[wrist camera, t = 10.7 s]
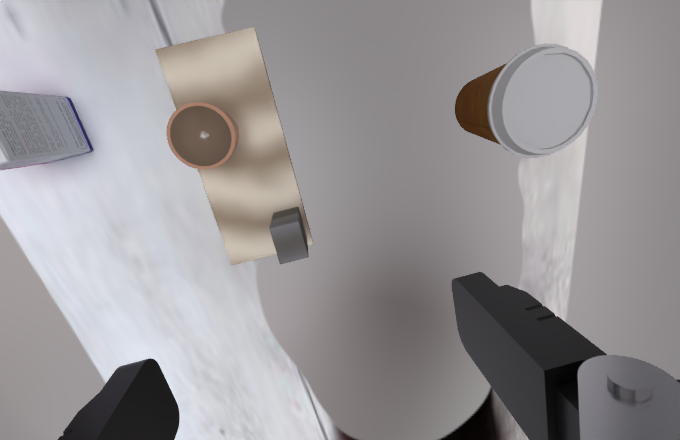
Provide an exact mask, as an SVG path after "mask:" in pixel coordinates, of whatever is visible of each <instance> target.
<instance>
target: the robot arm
mask: <svg viewBox="0 0 680 440" xmlns="http://www.w3.org/2000/svg"><path fill="white" fill-rule="evenodd" d="M452 292H453V299H454V306H455V313H456V320H457V326H458V331H459V335H460V338H461V341H462V343H463V345H464V347H465V349H466V351H467V352H468V354H469V355H470V357H471V358H472V360H473V361H474V362H475V364H476V365H477V367H478V368H479V369H480V371H481V372H482V374H483V375H484V377H485V378H486V379H487V381H488V382H489V384H490V385H491V386H492V388H493V389H494V391H495V392H496V393H497V395H498V396H499V398H500V399H501V400H502V402H503V403H504V405H505V406H506V407H507V409H508V410H509V412H510V413H511V415H512V416H513V417H514V419H515V420H516V422H517V423H518V424H519V426H520V427H521V429H522V430H523V431H524V433H525V434H526V436H527V437H528V438H529V440H680V380H676V379H675V378H673V377H672V376H671V375H670V374H668V373H667V372H665V371H664V370H662V369H660V368H658V367H656V366H654V365H652V364H650V363H647V362H645V361H642V360H638V359H635V358H631V357H626V356H618V355H607V354H605V353H604V352H603V351H602V350H600V349H599V348H598V347H596V346H595V345H594V344H593V343H591V342H590V341H589V340H588V339H586V338H585V337H584V336H582V335H581V334H580V333H579V332H577V331H576V330H575V329H573V328H572V327H571V326H570V325H568V324H567V323H566V322H564V321H563V320H562V319H561V318H559V317H558V316H557V317H556V316H555V314H554V313H553V312H551V311H550V310H549V309H548V308H546V307H545V306H544V307H543V306H542V304H541V303H540V302H539V301H537V300H536V299H535V298H533V297H532V296H531V295H530V294H528V293H527V292H525V291H522V290H519V289H517V288H514V287H511V286H509V285H504V286H500V287H499V286H498V285H496V284H495V283H494V282H493V281H492V280H491V279H489V278H488V277H487V276H486V275H485V274H483V273H482V272H478V273H474V274H470V275H466V276H463V277H459V278H455V279H453V280H452ZM178 427H179V409H178V405H177V402H176V400H175V398H174V396H173V394H172V392H171V390H170V388H169V385H168V383H167V381H166V379H165V377H164V375H163V373H162V371H161V368H160V366H159V365H158V363H157V362H156V361H155V360H154V359H146V360H143V361H139V362H135V363H131V364H127V365H124V366H121V367H119V368H117V369H116V371H115V372H114V373H113V375H112V376H111V378H110V379H109V380H108V382H107V383H106V385H105V386H104V387H103V389H102V390H101V391H100V393H98V394H97V395H96V396H95V397H94V398H93V399H92V400H91V401H90V402H89V403H88V404H87V405H85V406H84V407H83V408H82V409H81V410H80V411H79V412H78V413H77V414H76V416H75V417H74V418H73V420H72V421H71V423H70V424H69V425H68V427H67V428H66V429H65V431H64V432H63V433H64V435H63V436H61V437H59V439H58V440H174V438H175V436H176V433H177V430H178Z"/></svg>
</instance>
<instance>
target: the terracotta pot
mask: <svg viewBox="0 0 680 440" xmlns="http://www.w3.org/2000/svg"><path fill="white" fill-rule="evenodd" d="M167 139H168V143H169V146H170V148H171V150H172V151H173V153H174V154H175V156H176V157H177V158H178V159H179V160H180V161H182V162H183V163H185V164H186V165H188V166H190V167H193V168H197V169H212V168H215V167H218V166H220V165H221V164H223V163H224V162H226V161H227V160H228V159H229V158H230V157H231V155H232V154H233V152H234V150H235V148H236V146H237V144H238V141H239V130H238V127H237V124H236V123H235V121H234V120H233V118H232V117H231V116H230V115H228V114H227V113H225V112H224V111H223V110H221V109H220V108H218V107H216V106H214V105H211V104H208V103H201V102H194V103H189V104H185V105H183V106H181V107H180V108H178V109H177V110H176V111H175V112H174V113H173V114H172V116H171V118H170V120H169V122H168V126H167Z"/></svg>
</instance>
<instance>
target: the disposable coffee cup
mask: <svg viewBox="0 0 680 440" xmlns="http://www.w3.org/2000/svg"><path fill="white" fill-rule="evenodd" d="M597 91H598V86H597V81H596V76H595V73H594V71H593V69H592V67H591V66H590V64H589V62H588V61H587V60H586V59H585V58H584V57H583V56H582V55H580V54H579V53H578V52H576V51H573V50H571V49H568V48H567V47H564V46H561V45H557V44H541V45H536V46H533V47H530V48H528V49H526V50H524V51H522V52H520V53H519V54H517V55H516V56H515V57H513V58H512V59H511V60H510V61H509V62H508V63H507V64H504V65H503V66H501V67H499V68H496V69H494V70H492V71H490V72H488V73H486V74H485V75H482V76H480V77H478V78H477V79H474V80H472V81H470V82H469V83H467V84H466V85H465V86H464V87H463V88H462V90H461V91H460V93H459V94H458V96H457V99H456V104H455V114H456V118H457V120H458V122H459V124H460V126H461V127H462V128H464V129H465V130H466V131H468V132H470V133H473V134H475V135H478V136H480V137H483V138H485V139H488V140H491V141H493V142H496V143H498V144H501V145H502V146H503V147H504V148H505V149H506V150H508V151H509V152H511V153H513V154H515V155H518V156H521V157H527V158H537V157H542V156H546V155H549V154H551V153H554V152H556V151H558V150H560V149H563V148H565V147H567V146H568V145H569V144H571V143H572V142H574V141H575V140H576V139H577V138H578V137H579V136H580V135H581V134H582V132H583V131H584V130H585V128H586V127H587V126H588V124H589V122H590V120H591V118H592V116H593V113H594V111H595V107H596V102H597Z"/></svg>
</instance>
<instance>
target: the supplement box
mask: <svg viewBox="0 0 680 440" xmlns="http://www.w3.org/2000/svg"><path fill="white" fill-rule="evenodd" d="M92 151H93V148H92V146H91V144H90V141H89V139H88V137H87V135H86V133H85V131H84V128H83V126H82V124H81V122H80V119H79V117H78V115H77V112H76V110H75V108H74V106H73V104H72V102H71V100H70V98H68V97H59V96H49V95H39V94H28V93H19V92H7V91H0V170H5V169H12V168H19V167H26V166H31V165H37V164H45V163H50V162H54V161H59V160H62V159H66V158H70V157H74V156H78V155H81V154H85V153H88V152H92Z"/></svg>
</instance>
